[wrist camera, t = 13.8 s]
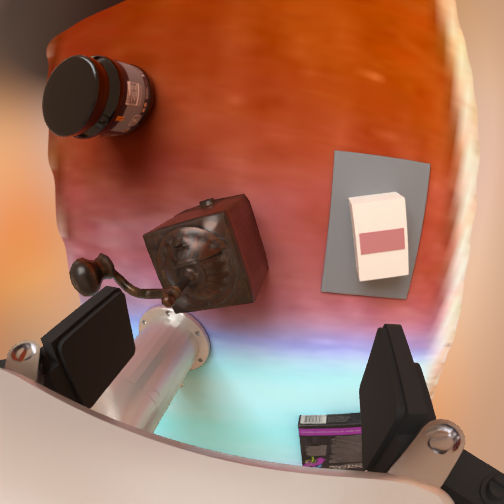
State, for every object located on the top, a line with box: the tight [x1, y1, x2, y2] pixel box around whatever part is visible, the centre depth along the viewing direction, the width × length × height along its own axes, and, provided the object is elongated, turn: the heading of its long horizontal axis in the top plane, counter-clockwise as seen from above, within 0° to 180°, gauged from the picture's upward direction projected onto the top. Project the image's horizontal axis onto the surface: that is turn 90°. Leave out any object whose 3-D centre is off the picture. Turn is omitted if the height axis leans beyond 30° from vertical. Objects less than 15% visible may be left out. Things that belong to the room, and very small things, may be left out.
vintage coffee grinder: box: [69, 194, 268, 314], centre depth 33 cm, size 16×11×18 cm
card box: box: [348, 192, 409, 281], centre depth 33 cm, size 6×9×4 cm, turn 12°
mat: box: [321, 151, 430, 299], centre depth 35 cm, size 18×12×1 cm, turn 179°
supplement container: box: [42, 55, 154, 139], centre depth 31 cm, size 10×11×12 cm
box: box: [298, 413, 365, 471], centre depth 49 cm, size 14×4×20 cm
